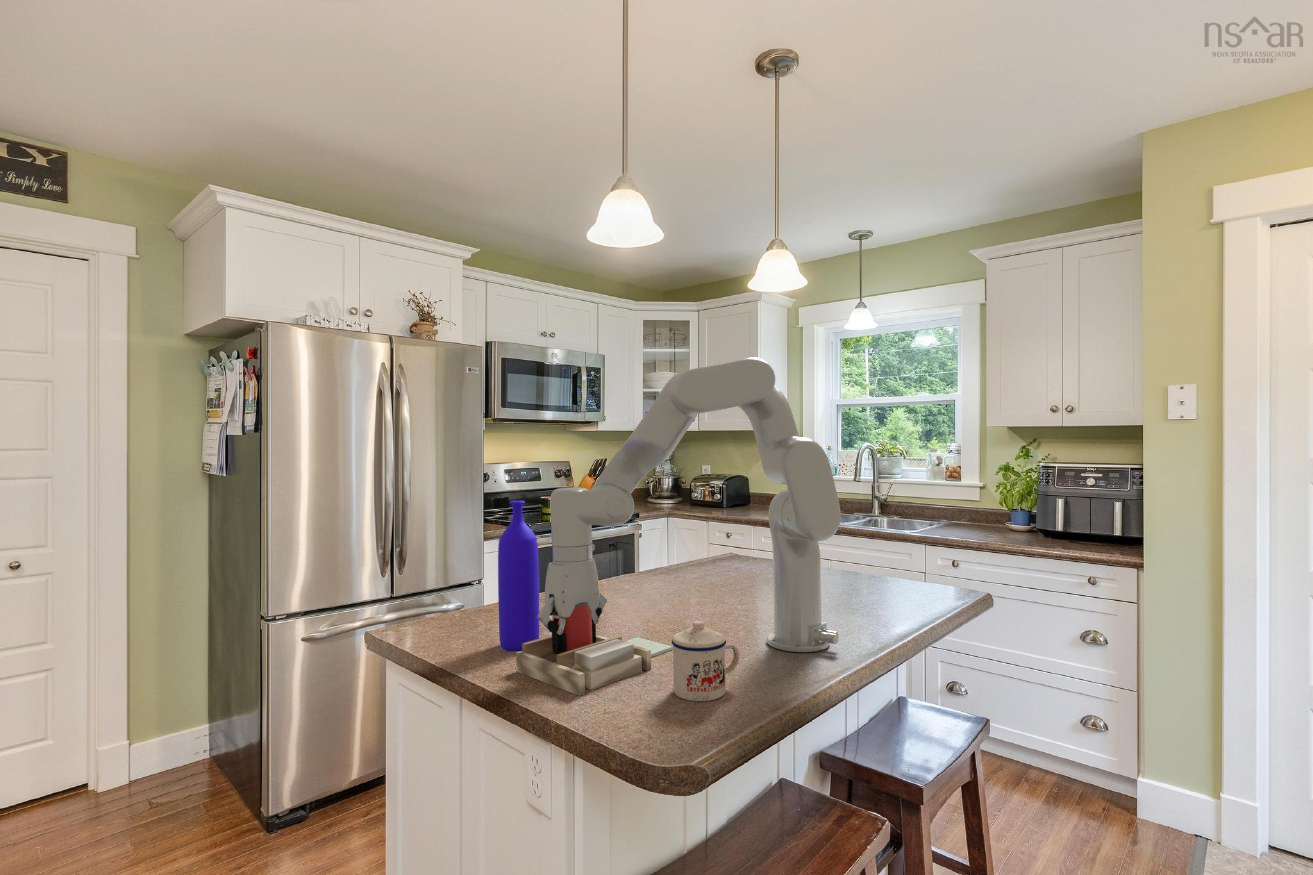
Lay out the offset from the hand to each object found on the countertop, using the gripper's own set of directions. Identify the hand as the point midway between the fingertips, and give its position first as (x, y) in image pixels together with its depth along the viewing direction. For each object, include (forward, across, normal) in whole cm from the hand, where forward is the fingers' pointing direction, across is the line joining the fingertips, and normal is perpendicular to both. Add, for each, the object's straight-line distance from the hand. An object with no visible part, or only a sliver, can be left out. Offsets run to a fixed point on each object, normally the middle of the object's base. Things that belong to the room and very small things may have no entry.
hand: (574, 648), depth 124 cm
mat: (+3, -14, +2) cm, 15 cm away
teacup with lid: (+4, -7, +26) cm, 27 cm away
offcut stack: (+4, 0, +9) cm, 9 cm away
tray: (+3, 0, +3) cm, 4 cm away
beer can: (+3, 0, 0) cm, 3 cm away
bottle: (+3, -1, -19) cm, 19 cm away
